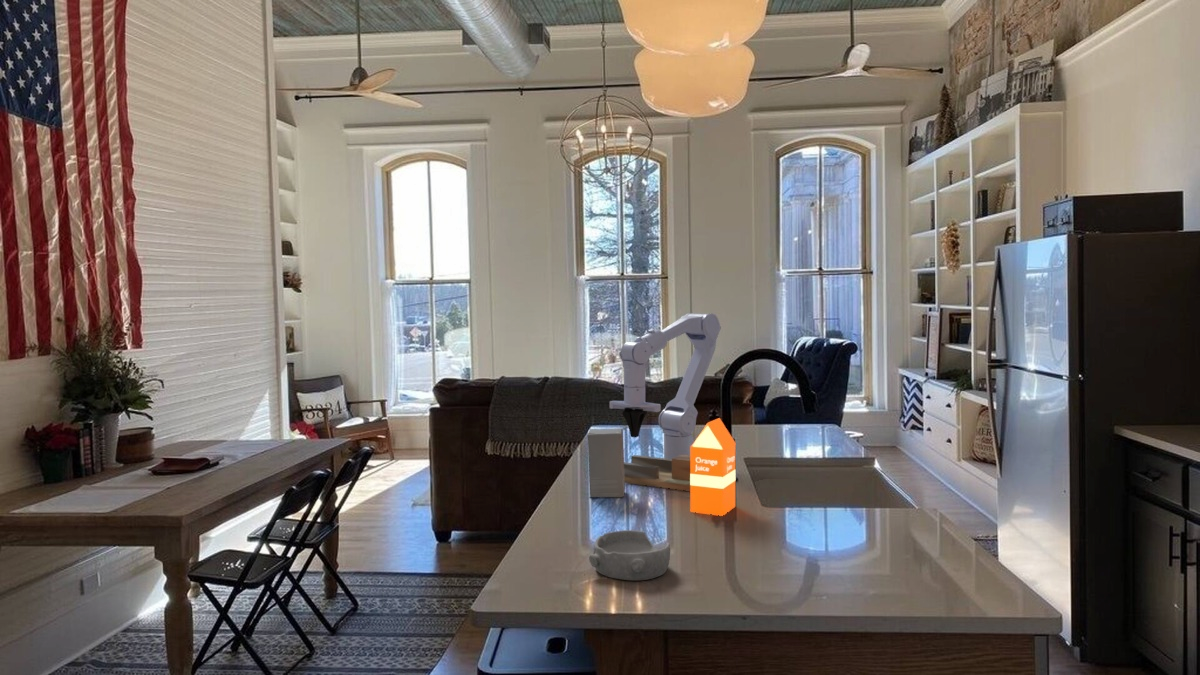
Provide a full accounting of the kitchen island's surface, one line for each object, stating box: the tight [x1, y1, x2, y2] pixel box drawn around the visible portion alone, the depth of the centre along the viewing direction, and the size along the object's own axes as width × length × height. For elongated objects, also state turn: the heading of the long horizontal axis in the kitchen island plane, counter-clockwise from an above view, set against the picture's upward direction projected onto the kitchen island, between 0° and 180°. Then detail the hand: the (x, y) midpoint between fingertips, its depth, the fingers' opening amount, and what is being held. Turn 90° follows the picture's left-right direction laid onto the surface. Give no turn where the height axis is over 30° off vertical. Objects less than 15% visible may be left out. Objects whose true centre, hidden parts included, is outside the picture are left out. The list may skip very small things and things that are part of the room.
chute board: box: [624, 454, 690, 492], centre depth 204 cm, size 14×24×4 cm, turn 60°
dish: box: [588, 529, 671, 581], centre depth 138 cm, size 14×14×5 cm
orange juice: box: [689, 417, 737, 517], centre depth 175 cm, size 8×9×20 cm
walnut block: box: [672, 455, 690, 481], centre depth 200 cm, size 6×5×5 cm
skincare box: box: [586, 427, 626, 498], centre depth 188 cm, size 8×7×16 cm
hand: (634, 436), depth 211 cm, fingers closed
